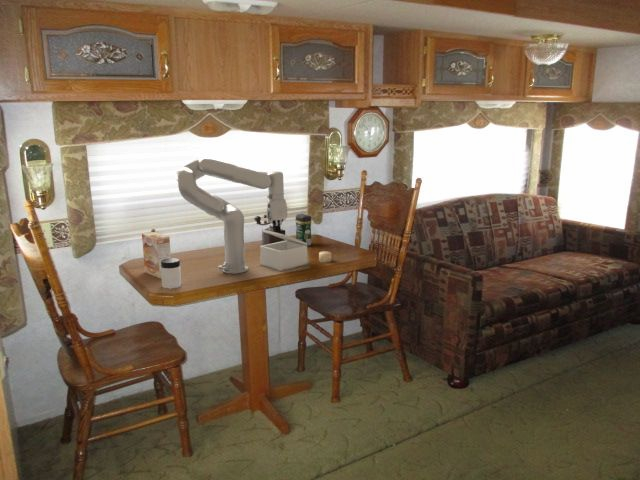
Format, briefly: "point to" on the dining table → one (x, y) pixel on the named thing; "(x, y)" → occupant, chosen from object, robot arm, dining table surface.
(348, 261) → the dining table surface
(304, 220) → the coffee jar
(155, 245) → the coffeecake box
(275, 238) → the brown coffee grinder
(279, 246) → the carton
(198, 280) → the dining table surface
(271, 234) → the box lid
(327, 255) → the beige egg-shaped stone
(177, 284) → the jar
